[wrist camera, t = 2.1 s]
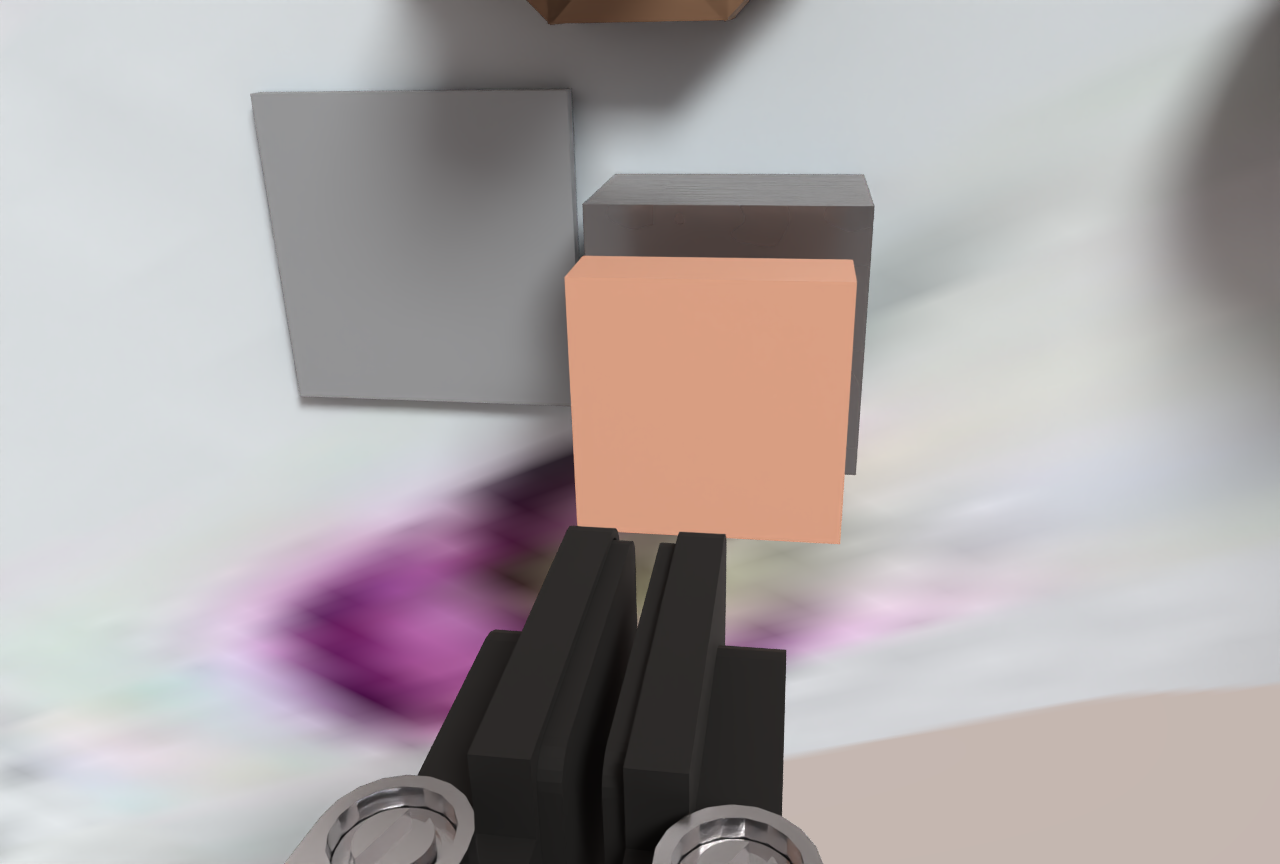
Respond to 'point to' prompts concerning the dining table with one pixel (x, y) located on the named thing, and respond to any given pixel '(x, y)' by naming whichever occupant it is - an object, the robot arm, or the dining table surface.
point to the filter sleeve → (636, 10)
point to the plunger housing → (743, 231)
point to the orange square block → (711, 394)
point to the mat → (424, 240)
